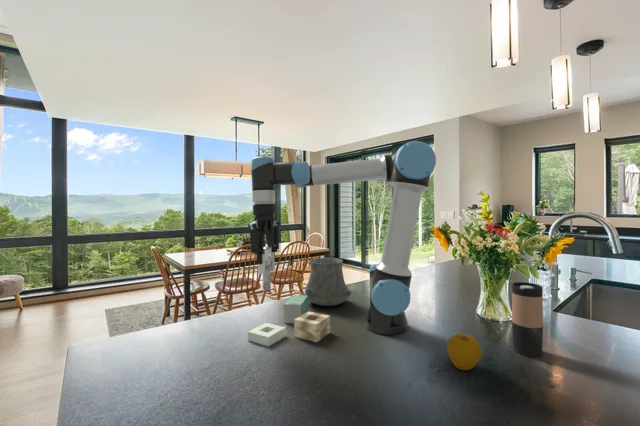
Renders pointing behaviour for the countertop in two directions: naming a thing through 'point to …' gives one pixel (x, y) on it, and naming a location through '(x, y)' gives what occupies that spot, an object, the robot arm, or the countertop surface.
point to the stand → (266, 334)
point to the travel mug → (527, 319)
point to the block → (312, 326)
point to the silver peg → (267, 268)
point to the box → (295, 307)
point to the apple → (464, 351)
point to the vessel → (326, 282)
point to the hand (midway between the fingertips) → (266, 272)
